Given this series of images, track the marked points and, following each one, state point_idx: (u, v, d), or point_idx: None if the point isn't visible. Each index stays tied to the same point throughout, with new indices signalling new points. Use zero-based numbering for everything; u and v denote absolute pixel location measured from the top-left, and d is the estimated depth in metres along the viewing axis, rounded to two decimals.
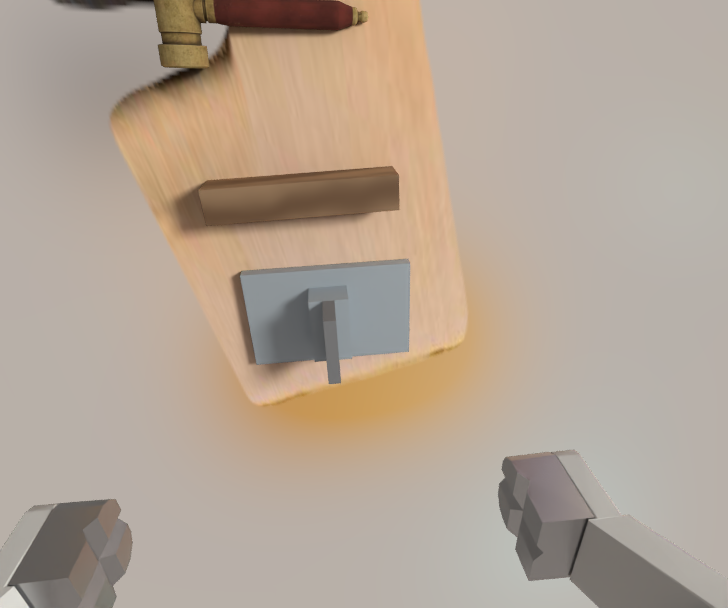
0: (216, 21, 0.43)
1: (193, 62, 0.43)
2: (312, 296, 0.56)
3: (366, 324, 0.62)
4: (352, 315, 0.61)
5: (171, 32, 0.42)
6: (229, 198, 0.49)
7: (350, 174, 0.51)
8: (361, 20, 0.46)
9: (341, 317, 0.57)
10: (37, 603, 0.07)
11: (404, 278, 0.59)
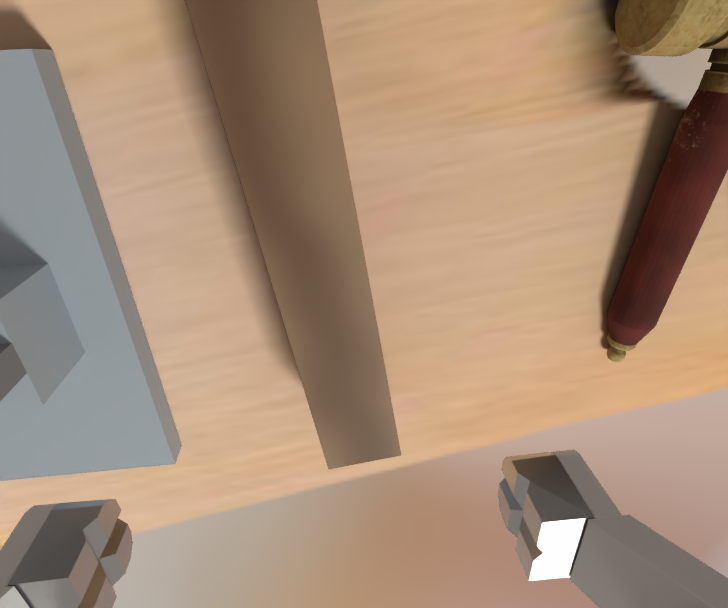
0: (714, 92, 0.19)
1: (684, 23, 0.16)
2: (21, 298, 0.19)
3: None
4: None
5: None
6: (295, 72, 0.15)
7: None
8: (614, 353, 0.27)
9: None
10: (37, 603, 0.07)
11: (135, 458, 0.27)
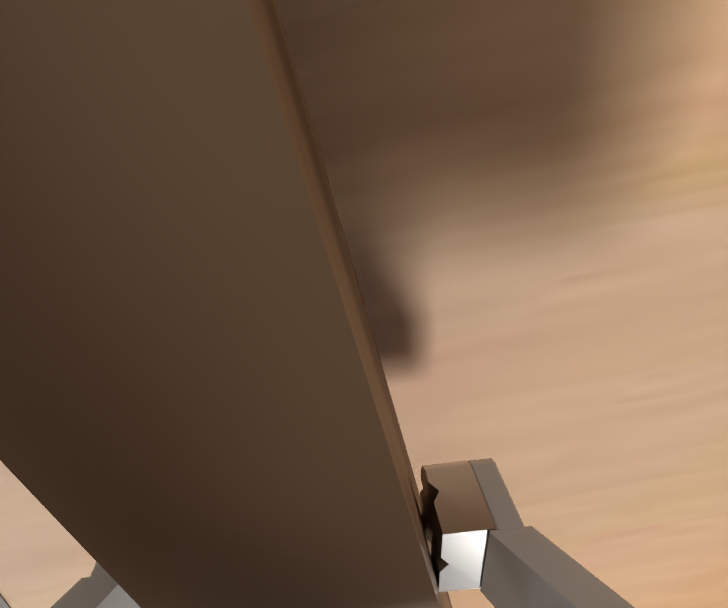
0: None
1: None
2: None
3: None
4: None
5: None
6: (117, 104, 0.03)
7: None
8: None
9: None
10: None
11: None
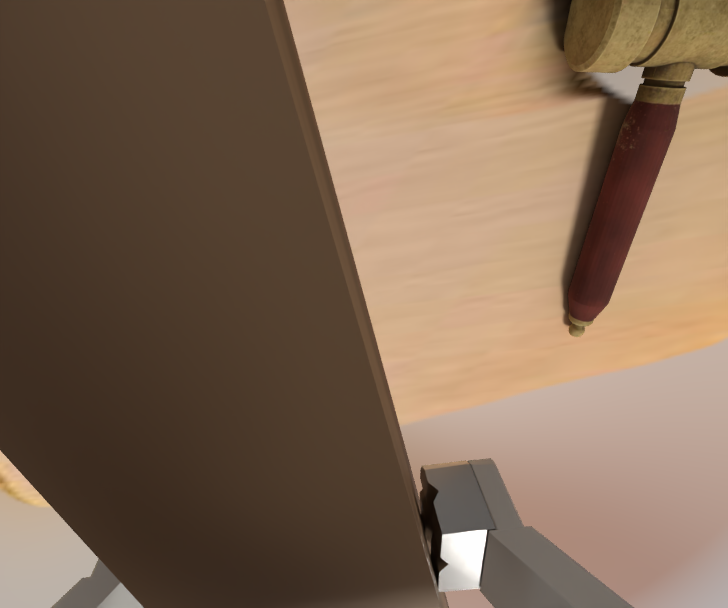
0: (646, 103, 0.23)
1: (612, 47, 0.20)
2: None
3: None
4: None
5: (674, 3, 0.19)
6: (134, 104, 0.03)
7: None
8: (574, 329, 0.31)
9: None
10: None
11: None
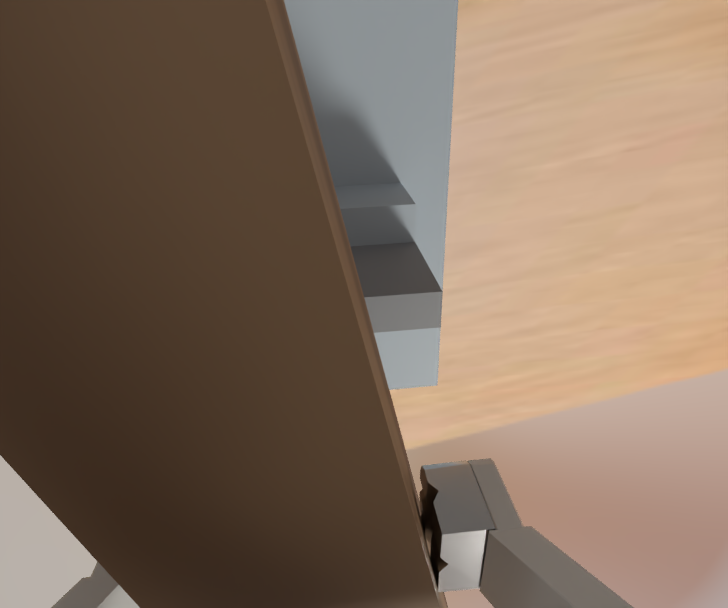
0: None
1: None
2: None
3: None
4: None
5: None
6: (131, 98, 0.03)
7: None
8: None
9: None
10: None
11: (405, 379, 0.29)
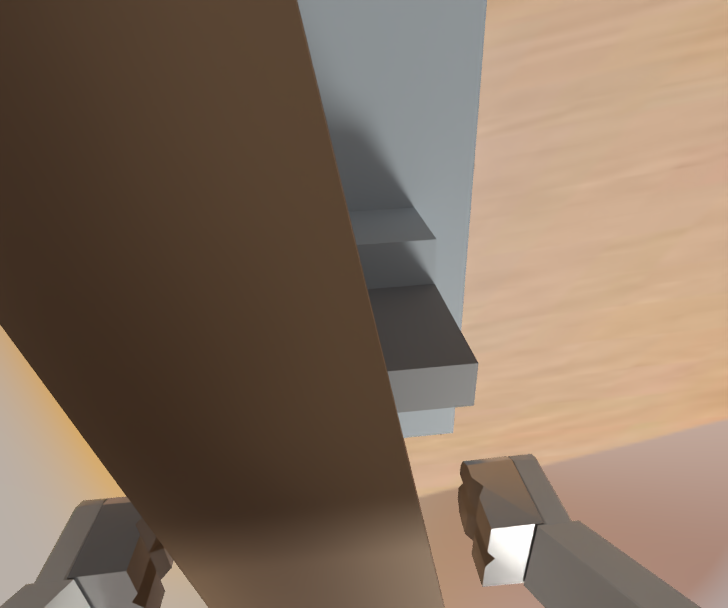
0: None
1: None
2: None
3: None
4: None
5: None
6: (187, 90, 0.04)
7: None
8: None
9: None
10: (94, 596, 0.08)
11: (416, 426, 0.25)
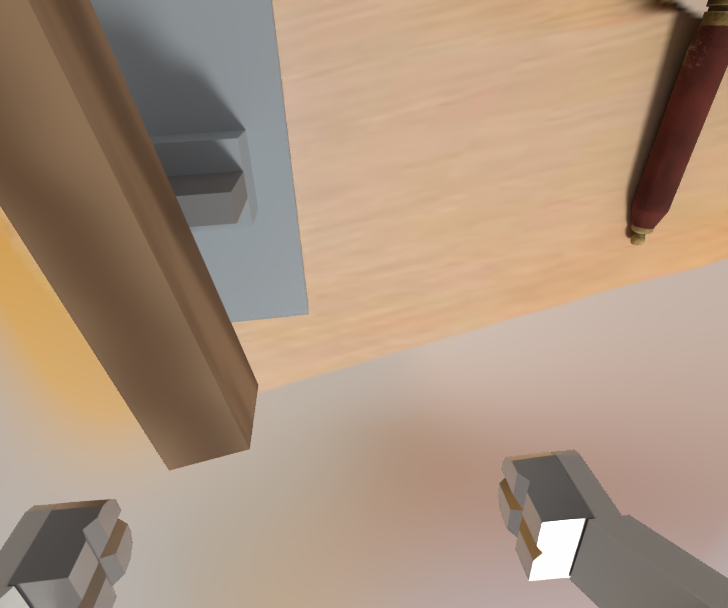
0: (711, 26, 0.28)
1: None
2: (242, 144, 0.26)
3: None
4: None
5: None
6: None
7: (215, 337, 0.21)
8: (636, 238, 0.36)
9: None
10: (37, 603, 0.07)
11: (278, 308, 0.34)
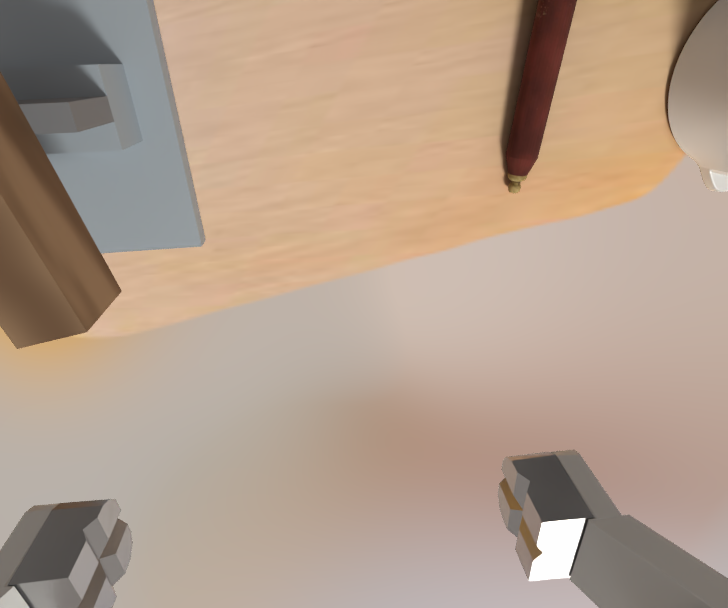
0: None
1: None
2: (110, 73, 0.29)
3: (66, 179, 0.34)
4: (79, 152, 0.33)
5: None
6: None
7: (53, 230, 0.24)
8: (512, 185, 0.38)
9: (77, 135, 0.29)
10: (37, 603, 0.07)
11: (173, 239, 0.37)
